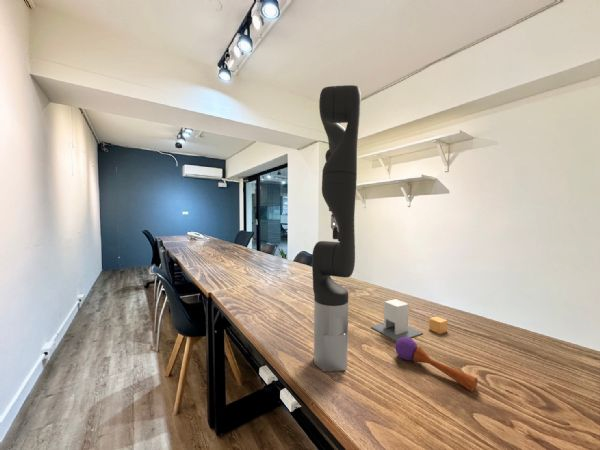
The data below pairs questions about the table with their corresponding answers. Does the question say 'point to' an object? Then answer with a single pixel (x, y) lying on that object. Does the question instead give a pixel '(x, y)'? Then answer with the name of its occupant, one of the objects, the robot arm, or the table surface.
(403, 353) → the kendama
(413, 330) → the mat
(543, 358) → the table surface
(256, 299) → the table surface
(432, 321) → the block
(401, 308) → the cover
